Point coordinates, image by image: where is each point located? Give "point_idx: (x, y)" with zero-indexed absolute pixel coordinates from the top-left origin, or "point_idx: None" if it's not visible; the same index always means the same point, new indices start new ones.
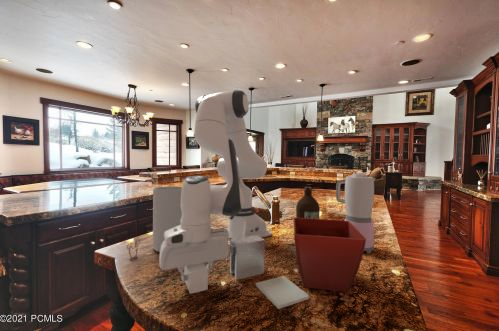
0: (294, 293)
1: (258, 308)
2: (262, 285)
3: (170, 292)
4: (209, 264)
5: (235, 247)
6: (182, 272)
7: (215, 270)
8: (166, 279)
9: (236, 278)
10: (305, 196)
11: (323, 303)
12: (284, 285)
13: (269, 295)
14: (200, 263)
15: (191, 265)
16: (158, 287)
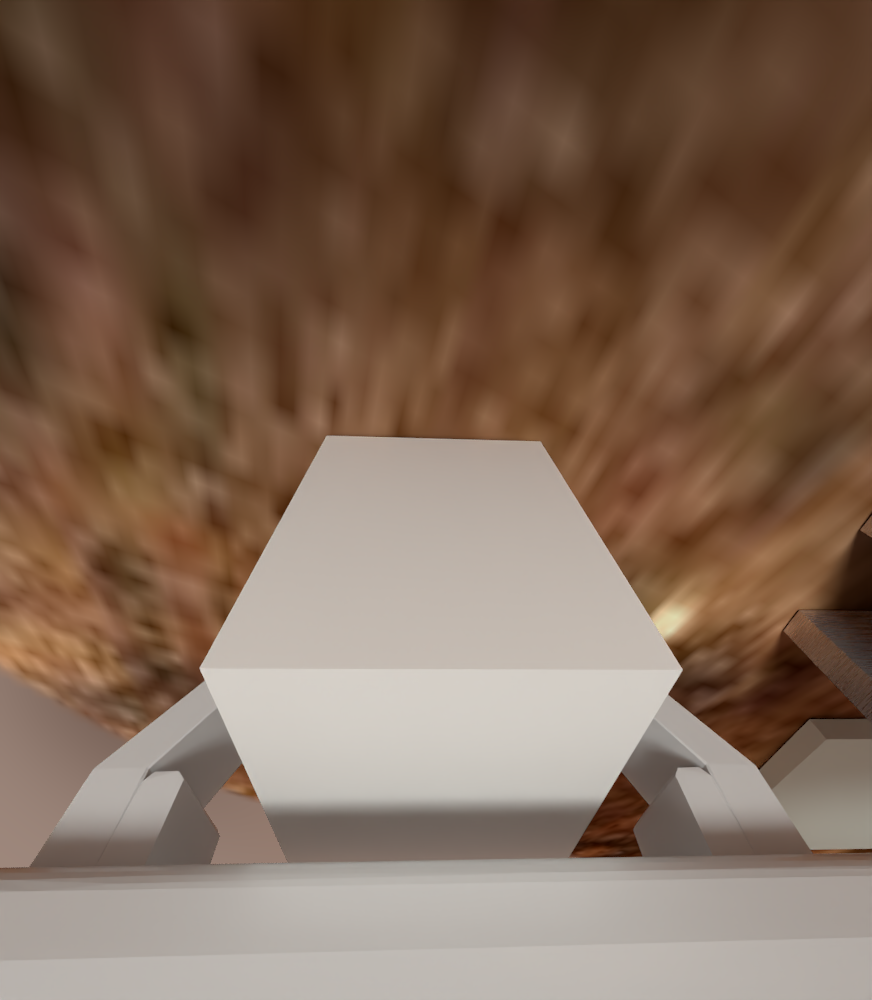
0: (853, 831)
1: (634, 816)
2: (824, 763)
3: (182, 587)
4: (646, 830)
5: None
6: (219, 782)
7: (820, 355)
8: (50, 281)
9: (797, 642)
10: None
11: (860, 849)
12: None
13: None
14: (530, 815)
15: (354, 823)
16: (9, 458)
